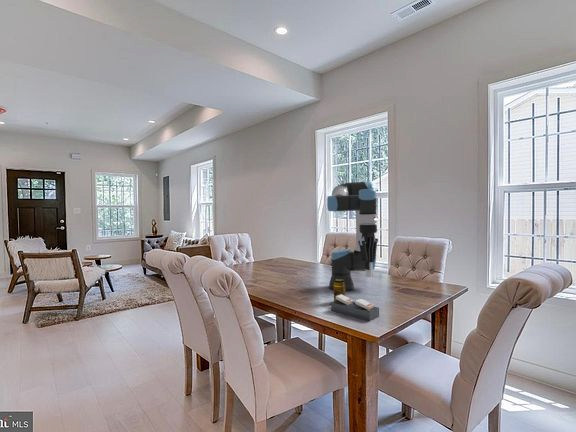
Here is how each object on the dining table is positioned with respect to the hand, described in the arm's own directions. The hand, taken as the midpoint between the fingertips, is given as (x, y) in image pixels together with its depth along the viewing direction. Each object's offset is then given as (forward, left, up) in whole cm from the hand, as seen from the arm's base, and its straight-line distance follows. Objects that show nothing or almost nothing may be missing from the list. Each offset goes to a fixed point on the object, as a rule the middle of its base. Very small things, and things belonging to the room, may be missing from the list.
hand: (369, 276), depth 136 cm
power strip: (-10, 0, -18) cm, 21 cm away
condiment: (-23, +10, -19) cm, 31 cm away
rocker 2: (-3, 0, -13) cm, 13 cm away
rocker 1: (-14, 0, -13) cm, 19 cm away
